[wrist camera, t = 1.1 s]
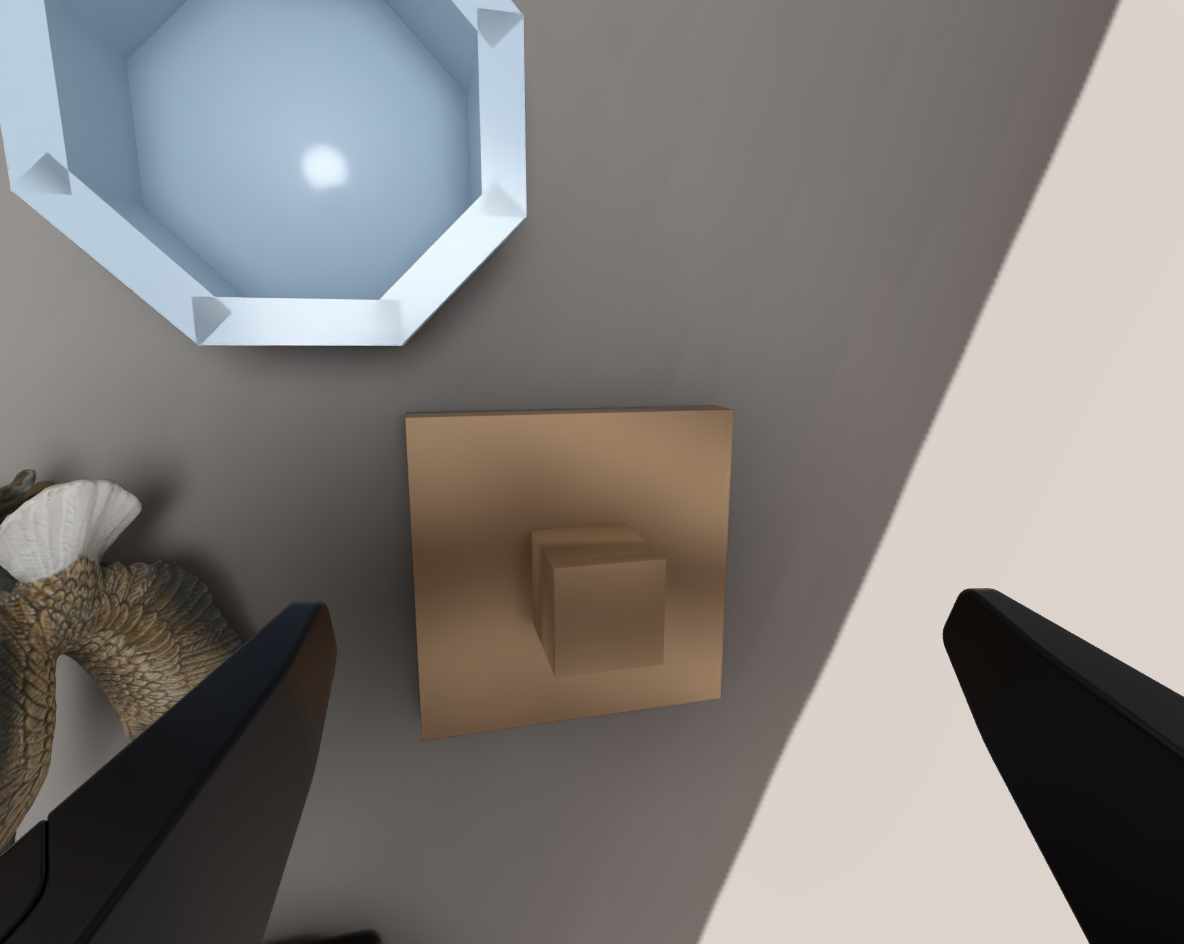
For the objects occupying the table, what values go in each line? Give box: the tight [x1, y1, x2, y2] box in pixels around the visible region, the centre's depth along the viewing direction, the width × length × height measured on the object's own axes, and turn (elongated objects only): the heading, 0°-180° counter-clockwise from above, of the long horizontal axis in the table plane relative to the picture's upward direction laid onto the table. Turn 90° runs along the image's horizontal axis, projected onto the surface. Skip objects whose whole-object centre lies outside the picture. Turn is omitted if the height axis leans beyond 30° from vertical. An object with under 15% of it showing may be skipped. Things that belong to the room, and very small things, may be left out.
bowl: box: [0, 0, 527, 346], centre depth 16 cm, size 10×10×4 cm
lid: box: [405, 407, 733, 741], centre depth 19 cm, size 10×10×4 cm
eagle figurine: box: [0, 469, 242, 855], centre depth 16 cm, size 8×7×9 cm
